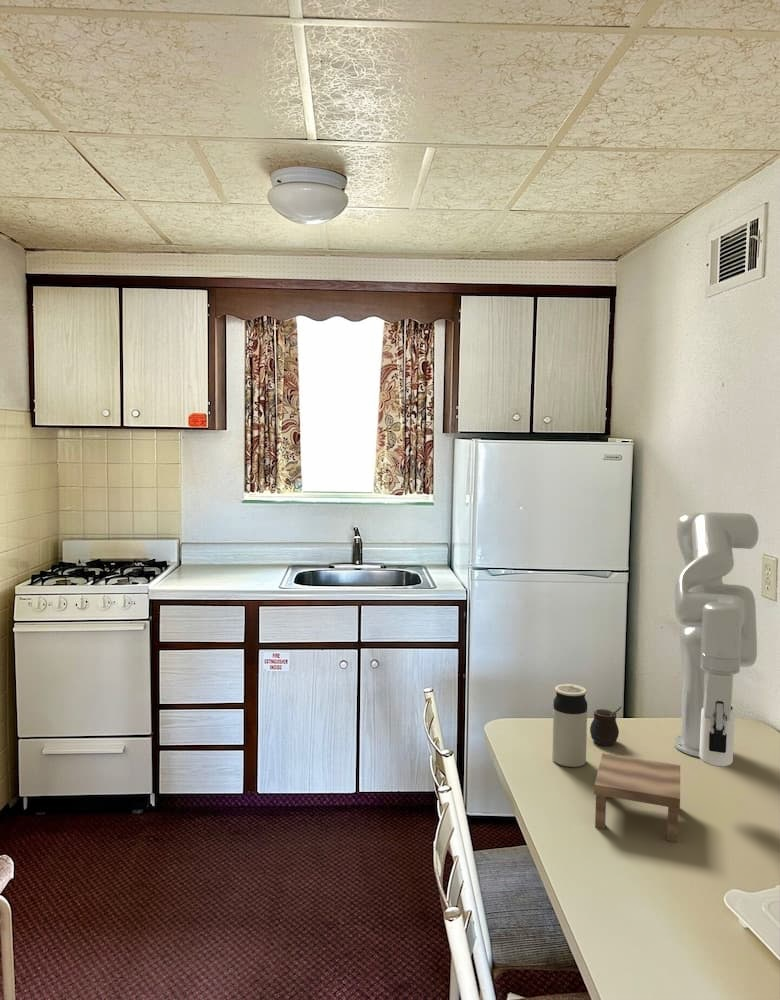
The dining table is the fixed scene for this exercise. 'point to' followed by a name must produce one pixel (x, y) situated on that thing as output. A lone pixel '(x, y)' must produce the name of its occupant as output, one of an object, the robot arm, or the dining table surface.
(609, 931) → the dining table surface
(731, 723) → the can
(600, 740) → the mate gourd
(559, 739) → the travel mug
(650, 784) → the small wooden table
